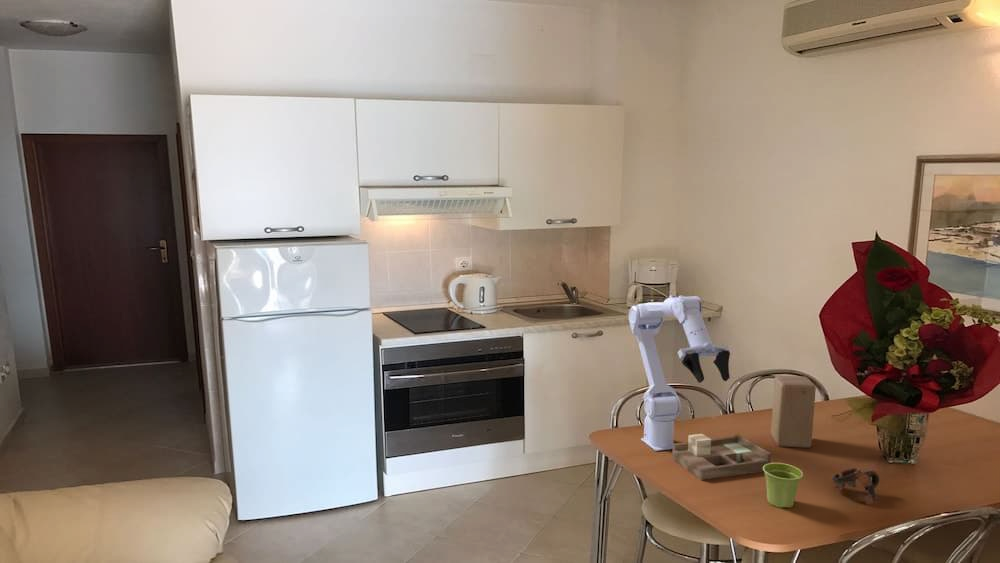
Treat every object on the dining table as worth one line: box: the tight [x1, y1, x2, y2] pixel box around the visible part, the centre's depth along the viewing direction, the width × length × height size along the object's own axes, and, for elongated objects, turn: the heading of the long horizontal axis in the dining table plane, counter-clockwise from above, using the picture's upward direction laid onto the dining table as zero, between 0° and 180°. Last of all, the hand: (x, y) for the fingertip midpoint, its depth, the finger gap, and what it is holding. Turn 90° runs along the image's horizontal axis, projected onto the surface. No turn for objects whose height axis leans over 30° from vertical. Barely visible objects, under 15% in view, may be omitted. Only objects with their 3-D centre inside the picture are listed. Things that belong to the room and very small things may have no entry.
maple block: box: [687, 433, 712, 456], centre depth 199 cm, size 4×4×4 cm
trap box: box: [671, 434, 772, 481], centre depth 197 cm, size 15×22×5 cm
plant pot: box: [763, 462, 804, 509], centre depth 174 cm, size 9×9×9 cm
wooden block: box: [770, 375, 817, 449], centre depth 213 cm, size 10×10×20 cm
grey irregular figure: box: [832, 467, 880, 506], centre depth 179 cm, size 12×10×8 cm
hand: (714, 380), depth 182 cm, fingers open, 7 cm apart
